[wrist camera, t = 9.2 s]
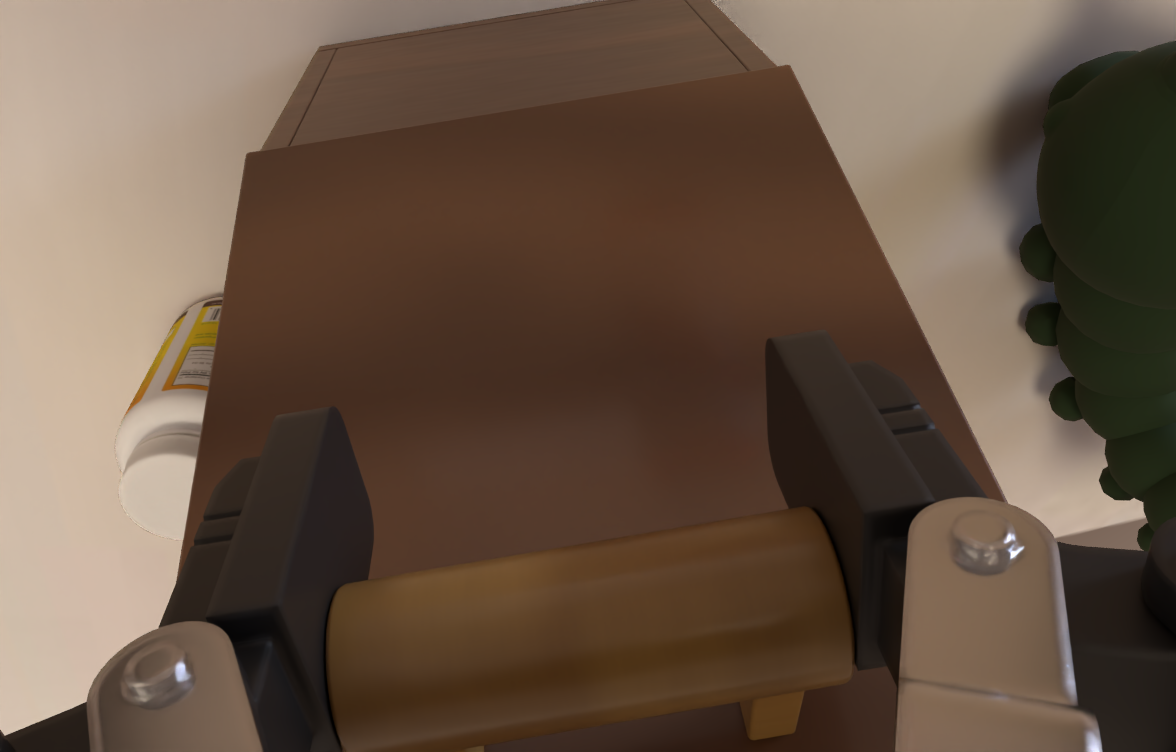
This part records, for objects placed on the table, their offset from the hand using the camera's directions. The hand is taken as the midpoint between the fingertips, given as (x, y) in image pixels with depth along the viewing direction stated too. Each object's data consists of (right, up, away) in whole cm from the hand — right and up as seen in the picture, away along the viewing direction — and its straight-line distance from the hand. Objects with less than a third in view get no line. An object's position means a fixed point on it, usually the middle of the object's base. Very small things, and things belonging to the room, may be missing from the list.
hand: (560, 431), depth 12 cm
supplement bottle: (-15, +2, +28) cm, 32 cm away
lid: (0, 0, +6) cm, 6 cm away
